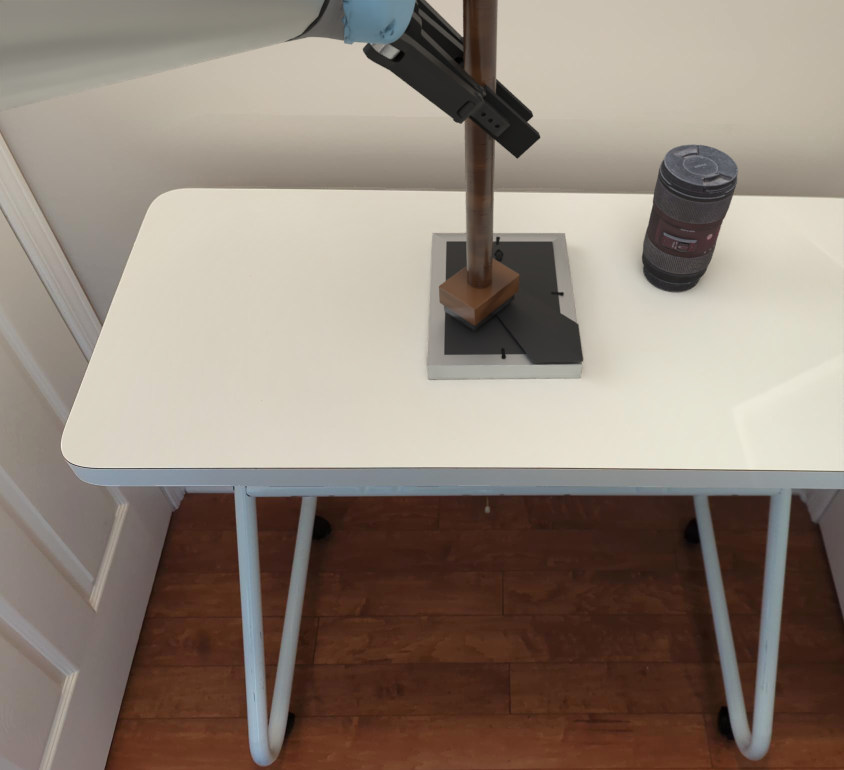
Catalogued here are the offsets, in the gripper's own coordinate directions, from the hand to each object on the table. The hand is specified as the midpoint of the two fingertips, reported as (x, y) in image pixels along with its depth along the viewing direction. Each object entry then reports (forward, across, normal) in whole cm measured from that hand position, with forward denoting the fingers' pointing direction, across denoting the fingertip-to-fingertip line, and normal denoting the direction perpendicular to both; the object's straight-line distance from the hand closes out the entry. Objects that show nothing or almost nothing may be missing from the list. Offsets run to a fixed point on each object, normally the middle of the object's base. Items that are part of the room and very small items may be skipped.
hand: (524, 134), depth 65 cm
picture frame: (+16, -2, -17) cm, 23 cm away
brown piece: (+12, 0, -17) cm, 21 cm away
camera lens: (+30, -5, -2) cm, 31 cm away
